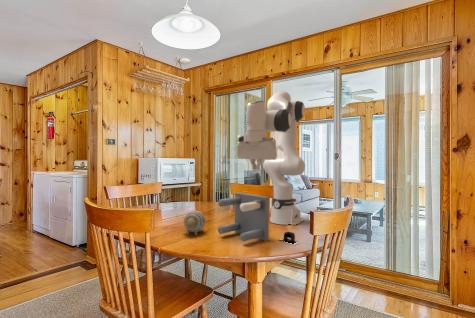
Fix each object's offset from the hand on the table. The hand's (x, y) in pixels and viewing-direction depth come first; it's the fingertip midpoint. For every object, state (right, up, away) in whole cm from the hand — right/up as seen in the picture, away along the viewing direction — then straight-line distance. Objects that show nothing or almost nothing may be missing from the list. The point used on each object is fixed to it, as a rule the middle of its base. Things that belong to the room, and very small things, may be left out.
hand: (256, 169), depth 118 cm
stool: (-6, -33, +10) cm, 35 cm away
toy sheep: (-29, -33, +18) cm, 48 cm away
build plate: (+16, -34, +6) cm, 38 cm away
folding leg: (-2, -19, +4) cm, 19 cm away
